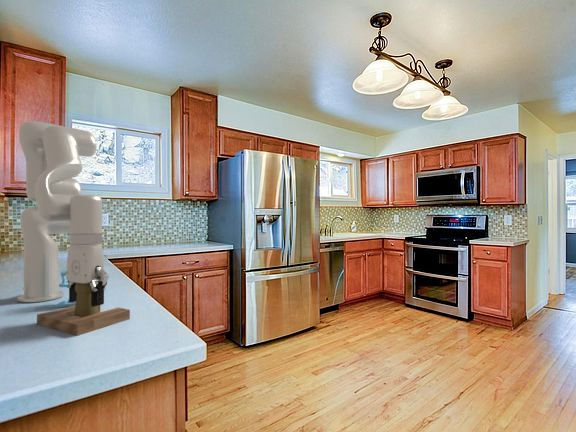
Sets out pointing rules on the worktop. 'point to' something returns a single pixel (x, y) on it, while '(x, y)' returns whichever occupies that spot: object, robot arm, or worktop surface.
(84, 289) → the cork
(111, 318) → the notched board
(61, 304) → the chair
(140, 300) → the worktop surface
